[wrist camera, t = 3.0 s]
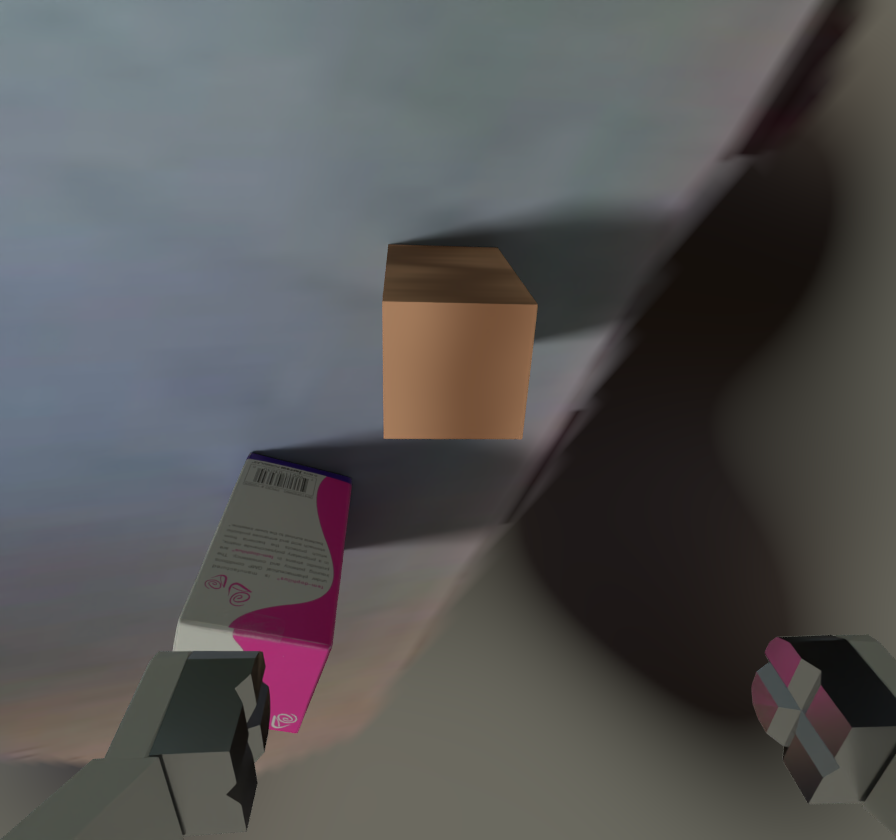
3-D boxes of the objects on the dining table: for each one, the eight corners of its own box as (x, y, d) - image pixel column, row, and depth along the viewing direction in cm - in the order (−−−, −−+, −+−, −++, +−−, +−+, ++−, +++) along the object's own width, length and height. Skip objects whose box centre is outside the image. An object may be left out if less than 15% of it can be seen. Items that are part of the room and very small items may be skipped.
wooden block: (388, 348, 29) (383, 438, 21) (388, 244, 26) (382, 301, 18) (489, 349, 29) (522, 438, 21) (497, 247, 27) (538, 304, 19)
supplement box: (229, 534, 33) (153, 718, 23) (249, 449, 31) (174, 614, 21) (328, 556, 34) (298, 740, 24) (355, 476, 32) (334, 644, 22)
